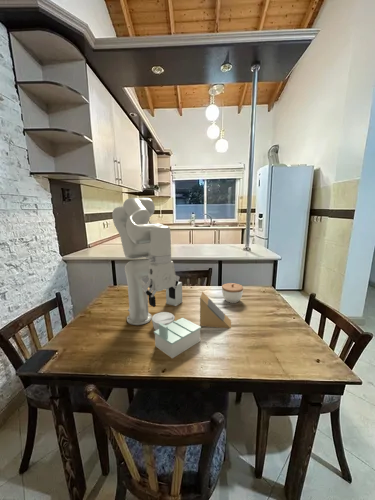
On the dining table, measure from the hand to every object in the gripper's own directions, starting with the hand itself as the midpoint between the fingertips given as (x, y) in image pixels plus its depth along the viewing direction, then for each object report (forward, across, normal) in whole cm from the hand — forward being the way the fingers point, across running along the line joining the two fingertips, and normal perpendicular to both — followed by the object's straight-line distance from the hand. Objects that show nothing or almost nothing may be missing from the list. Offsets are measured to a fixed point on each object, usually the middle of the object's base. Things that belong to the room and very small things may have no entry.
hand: (162, 301), depth 90 cm
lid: (+16, +8, 0) cm, 18 cm away
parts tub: (+22, +8, 0) cm, 23 cm away
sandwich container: (+22, +33, 0) cm, 40 cm away
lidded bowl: (+22, +61, +9) cm, 65 cm away
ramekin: (+22, +12, +15) cm, 29 cm away
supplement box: (+22, +34, +32) cm, 52 cm away
